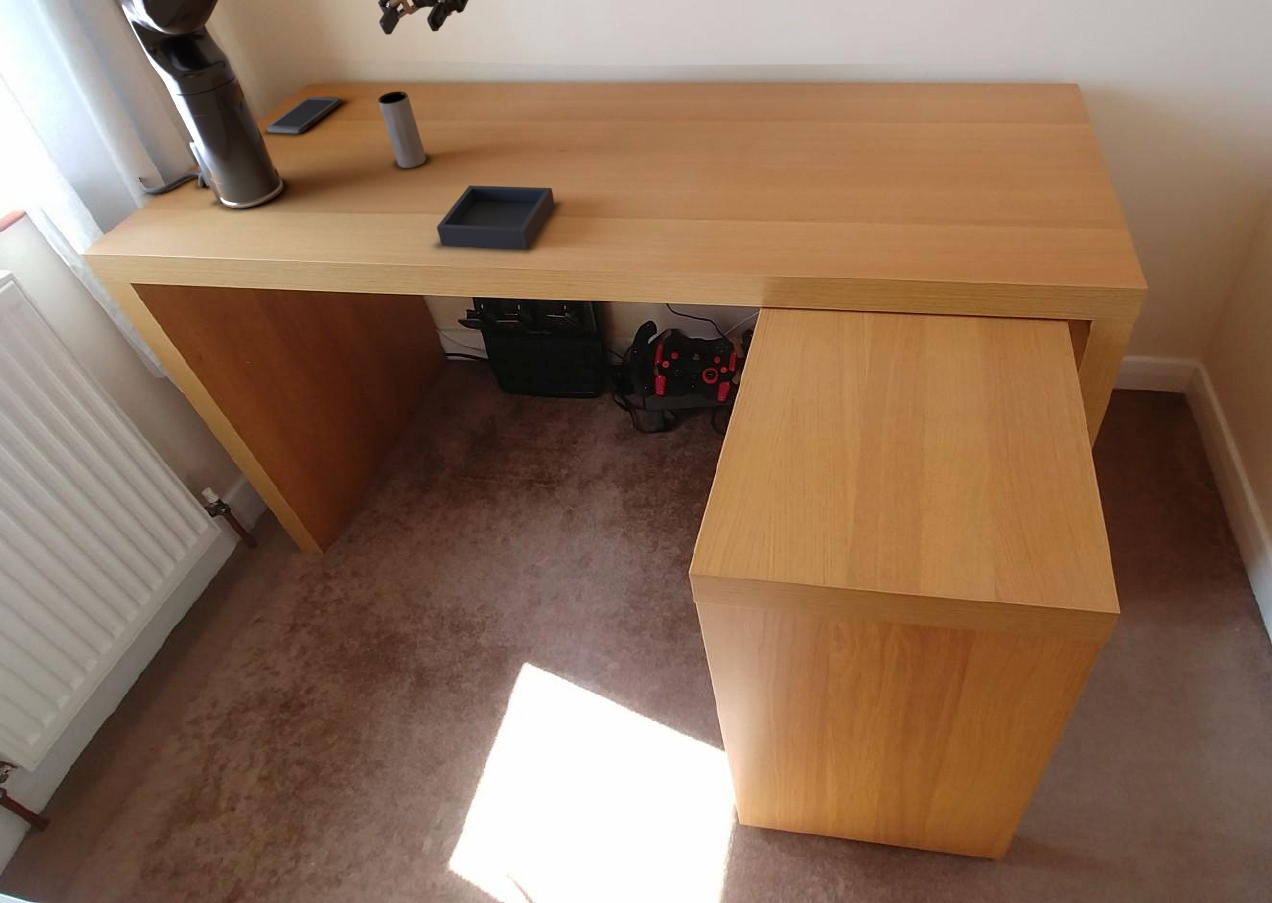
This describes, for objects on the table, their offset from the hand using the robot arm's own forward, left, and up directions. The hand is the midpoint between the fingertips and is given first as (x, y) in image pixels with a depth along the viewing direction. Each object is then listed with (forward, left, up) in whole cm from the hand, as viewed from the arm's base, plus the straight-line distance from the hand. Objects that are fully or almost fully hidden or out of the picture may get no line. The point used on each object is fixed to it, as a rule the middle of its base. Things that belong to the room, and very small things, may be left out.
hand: (408, 27), depth 124 cm
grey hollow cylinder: (-2, -7, -18) cm, 19 cm away
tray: (+20, -25, -18) cm, 37 cm away
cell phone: (-31, +9, -18) cm, 37 cm away
